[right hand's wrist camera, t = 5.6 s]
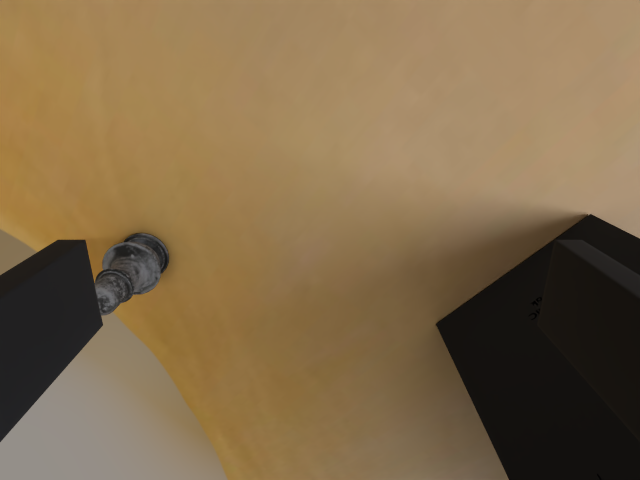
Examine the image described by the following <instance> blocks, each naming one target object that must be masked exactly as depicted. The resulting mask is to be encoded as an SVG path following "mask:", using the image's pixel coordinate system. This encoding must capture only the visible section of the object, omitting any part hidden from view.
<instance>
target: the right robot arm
mask: <svg viewBox="0 0 640 480" xmlns="http://www.w3.org/2000/svg"><path fill="white" fill-rule="evenodd" d="M102 326H103V323H102V318H101V313H100V308H99V304H98V299H97V294H96V289H95V284H94V279H93V275H92V270H91V265H90V260H89V255H88V250H87V246H86V241H85V240H57V241H55V242H54V243H52V244H50V245H49V246H47V247H46V248H44V249H42V250H41V251H39V252H37V253H36V254H34V255H33V256H31V257H29V258H28V259H26V260H24V261H23V262H21V263H20V264H18V265H16V266H15V267H13V268H12V269H10V270H8V271H7V272H5V273H3V274H2V275H0V442H1V441H2V439H3V438H4V437H5V436H6V435H7V434H8V433H9V431H10V430H11V429H12V428H13V427H14V426H15V425H16V424H17V422H18V421H19V420H20V419H21V418H22V417H23V416H24V414H25V413H26V412H27V411H28V410H29V409H30V408H31V406H32V405H33V404H34V403H35V402H36V401H37V400H38V398H39V397H40V396H41V395H42V394H43V393H44V392H45V390H46V389H47V388H48V387H49V386H50V385H51V384H52V383H53V381H54V380H55V379H56V378H57V377H58V376H59V375H60V373H61V372H62V371H63V370H64V369H65V368H66V367H67V366H68V364H69V363H70V362H71V361H72V360H73V359H74V358H75V356H76V355H77V354H78V353H79V352H80V351H81V350H82V348H83V347H84V346H85V345H86V344H87V343H88V342H89V340H90V339H91V338H92V337H93V336H94V335H95V334H96V333H97V331H98V330H99V329H100V328H101V327H102ZM537 326H538V327H539V328H540V329H541V330H542V331H543V333H544V334H545V335H546V336H547V337H548V338H549V339H550V340H551V342H552V343H553V344H554V345H555V346H556V347H557V348H558V350H559V351H560V352H561V353H562V354H563V355H564V356H565V358H566V359H567V360H568V361H569V362H570V363H571V364H572V366H573V367H574V368H575V369H576V370H577V371H578V372H579V373H580V375H581V376H582V377H583V378H584V379H585V380H586V381H587V383H588V384H589V385H590V386H591V387H592V388H593V389H594V391H595V392H596V393H597V394H598V395H599V396H600V397H601V399H602V400H603V401H604V402H605V403H606V404H607V405H608V406H609V408H610V409H611V410H612V411H613V412H614V413H615V414H616V416H617V417H618V418H619V419H620V420H621V421H622V422H623V424H624V425H625V426H626V427H627V428H628V429H629V430H630V431H631V433H632V434H633V435H634V436H635V437H636V438H637V439H638V441H639V442H640V275H638V274H637V273H635V272H633V271H632V270H630V269H629V268H627V267H625V266H624V265H622V264H620V263H619V262H617V261H616V260H614V259H612V258H611V257H609V256H607V255H606V254H604V253H603V252H601V251H599V250H598V249H596V248H594V247H593V246H591V245H590V244H588V243H586V242H585V241H583V240H555V241H554V246H553V250H552V255H551V260H550V265H549V270H548V275H547V279H546V284H545V289H544V294H543V299H542V304H541V308H540V313H539V318H538V323H537Z"/></svg>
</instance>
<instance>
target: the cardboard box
mask: <svg viewBox="0 0 640 480" xmlns="http://www.w3.org/2000/svg"><path fill="white" fill-rule="evenodd" d="M555 240H583V241H585V242H586V243H588V244H590V245H591V246H593V247H594V248H596V249H598V250H599V251H601V252H603V253H604V254H606V255H607V256H609V257H611V258H612V259H614V260H616V261H617V262H619V263H620V264H622V265H624V266H625V267H627V268H629V269H630V270H632V271H633V272H635V273H637V274H638V275H640V239H639V238H637V237H635V236H633V235H631V234H629V233H627V232H625V231H623V230H621V229H619V228H617V227H615V226H613V225H611V224H609V223H607V222H605V221H603V220H601V219H599V218H597V217H595V216H593V215H591V214H590V215H589V216H587V217H586V218H584V219H583V220H582V221H580V222H579V223H577V224H576V225H575V226H573V227H572V228H570V229H569V230H568V231H566V232H565V233H563V234H562V235H561V236H559V237H558V238H556V239H555ZM555 240H554V241H555ZM554 241H552V242H551V243H549V244H548V245H546V246H545V247H544V248H542V249H541V250H539V251H538V252H537V253H535V254H534V255H532V256H531V257H530V258H528V259H527V260H525V261H524V262H523V263H521V264H520V265H518V266H517V267H516V268H514V269H513V270H511V271H510V272H509V273H507V274H506V275H504V276H503V277H502V278H500V279H499V280H497V281H496V282H494V283H493V284H492V285H490V286H489V287H487V288H486V289H485V290H483V291H482V292H480V293H479V294H478V295H476V296H475V297H473V298H472V299H471V300H469V301H468V302H466V303H465V304H464V305H462V306H461V307H459V308H458V309H457V310H455V311H454V312H452V313H451V314H450V315H448V316H447V317H445V318H444V319H443V320H441V321H440V322H438V323H437V324H436V325H437V327H438V330H439V332H440V334H441V336H442V338H443V340H444V342H445V344H446V346H447V349H448V351H449V353H450V355H451V357H452V359H453V361H454V363H455V366H456V368H457V370H458V372H459V374H460V376H461V378H462V380H463V383H464V385H465V387H466V389H467V391H468V393H469V395H470V397H471V400H472V402H473V404H474V406H475V408H476V410H477V412H478V414H479V416H480V419H481V421H482V423H483V425H484V427H485V429H486V431H487V433H488V436H489V438H490V440H491V442H492V444H493V446H494V448H495V450H496V453H497V455H498V457H499V459H500V461H501V463H502V465H503V467H504V469H505V472H506V474H507V476H508V478H509V480H640V442H639V441H638V439H637V438H636V437H635V436H634V435H633V434H632V433H631V431H630V430H629V429H628V428H627V427H626V426H625V425H624V424H623V422H622V421H621V420H620V419H619V418H618V417H617V416H616V414H615V413H614V412H613V411H612V410H611V409H610V408H609V406H608V405H607V404H606V403H605V402H604V401H603V400H602V399H601V397H600V396H599V395H598V394H597V393H596V392H595V391H594V389H593V388H592V387H591V386H590V385H589V384H588V383H587V381H586V380H585V379H584V378H583V377H582V376H581V375H580V373H579V372H578V371H577V370H576V369H575V368H574V367H573V366H572V364H571V363H570V362H569V361H568V360H567V359H566V358H565V356H564V355H563V354H562V353H561V352H560V351H559V350H558V348H557V347H556V346H555V345H554V344H553V343H552V342H551V340H550V339H549V338H548V337H547V336H546V335H545V334H544V333H543V331H542V330H541V329H540V328H539V327H538V326H537V323H538V318H539V313H540V308H541V304H542V299H543V294H544V289H545V284H546V279H547V275H548V270H549V265H550V260H551V255H552V250H553V246H554Z"/></svg>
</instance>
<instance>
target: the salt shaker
mask: <svg viewBox="0 0 640 480" xmlns="http://www.w3.org/2000/svg"><path fill="white" fill-rule="evenodd" d="M168 263H169V255H168V251H167V249H166V247H165V245H164V244H163V243H162V242H161V241H160V240H159V239H157V238H156V237H154V236H152V235H149V234H144V233H138V234H134V235H131V236H129V237H128V238H127V239H125V241H124V242H123V243H119V244H116V245H114V246H113V247H111V248H110V249H109V250H108V251H107V252H106V254H105V255H104V258H103V271H101V272H100V273H99V274H98V275H97V277H96V280H95V283H94V284H95V289H96V294H97V299H98V304H99V308H100V313H101V315H108V314H110V313H111V312H113V311H114V310H115V309H116V308H117V307H118V306H119V304H120V303H123V302H126V301H128V300H129V299H130V298H131V297H132V296H133V295H137V294H144V293H147V292H149V291H150V290H152V289H153V288H154V287H155V286H156V285H157V284H158V282H159V279H160V274H161V273H163V272H164V270H165V269H166V268H167V265H168Z"/></svg>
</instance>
